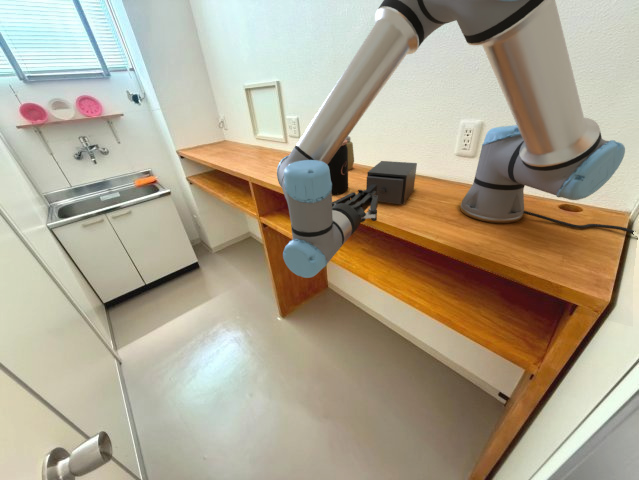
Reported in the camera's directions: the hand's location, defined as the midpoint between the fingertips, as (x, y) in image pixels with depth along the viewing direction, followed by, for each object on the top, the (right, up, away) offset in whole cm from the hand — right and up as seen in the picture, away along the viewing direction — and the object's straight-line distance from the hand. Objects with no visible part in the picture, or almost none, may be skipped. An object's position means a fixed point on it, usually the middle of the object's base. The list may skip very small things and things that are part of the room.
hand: (374, 189), depth 72 cm
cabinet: (+10, +2, +18) cm, 21 cm away
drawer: (+8, +1, +15) cm, 17 cm away
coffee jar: (-10, +4, +25) cm, 28 cm away
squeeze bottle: (-3, +20, +49) cm, 53 cm away
